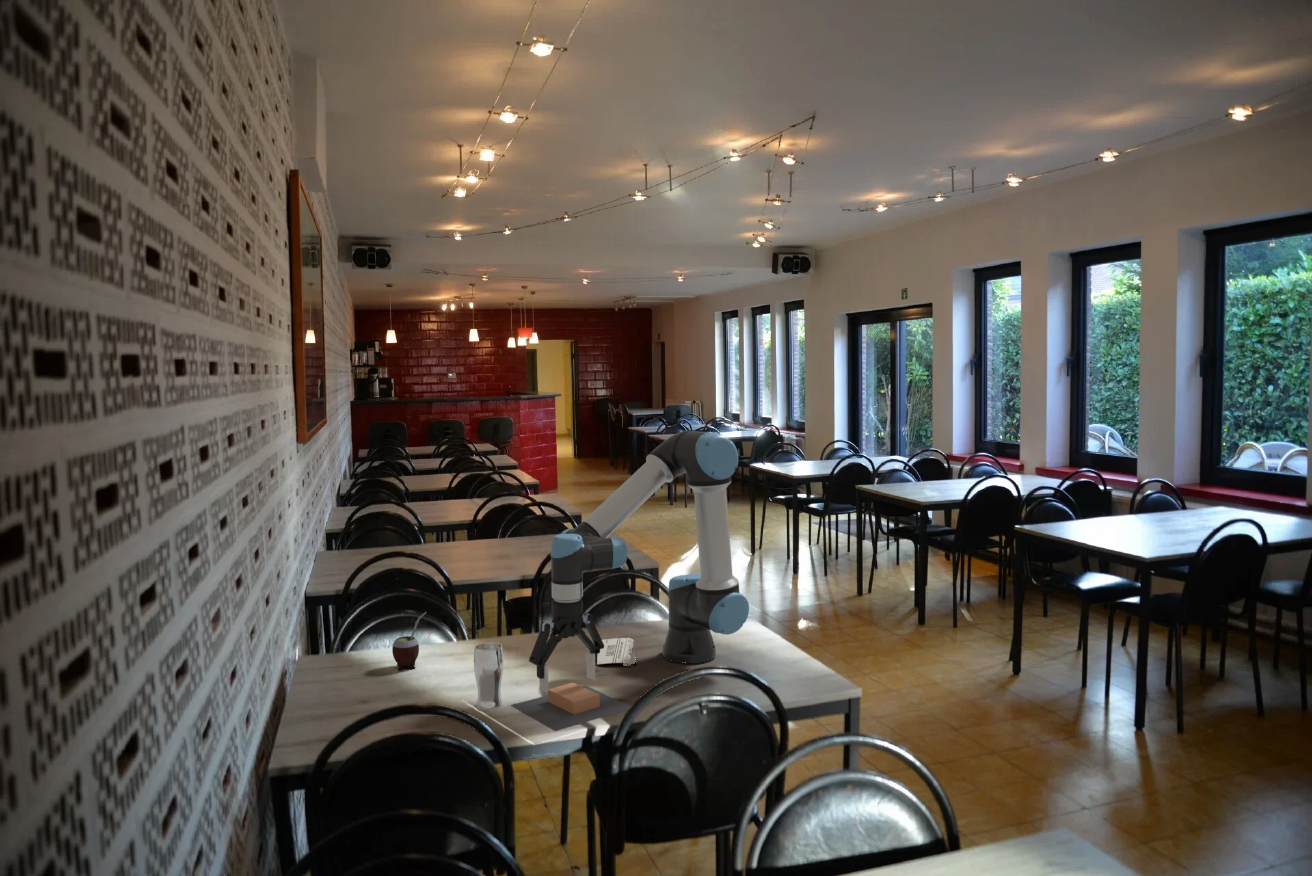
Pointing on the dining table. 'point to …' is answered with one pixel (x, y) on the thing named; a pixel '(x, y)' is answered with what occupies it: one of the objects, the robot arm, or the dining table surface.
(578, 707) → the card deck box
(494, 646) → the beer glass
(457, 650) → the dining table surface
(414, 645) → the mate gourd
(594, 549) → the robot arm
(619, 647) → the newspaper
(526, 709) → the rubber mat
